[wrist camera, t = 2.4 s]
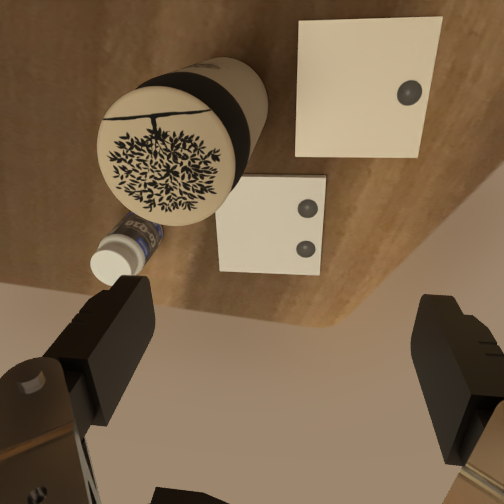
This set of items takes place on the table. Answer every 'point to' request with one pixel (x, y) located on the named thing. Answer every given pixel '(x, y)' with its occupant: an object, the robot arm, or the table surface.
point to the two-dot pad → (272, 224)
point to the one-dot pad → (364, 86)
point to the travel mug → (182, 140)
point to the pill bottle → (126, 248)
